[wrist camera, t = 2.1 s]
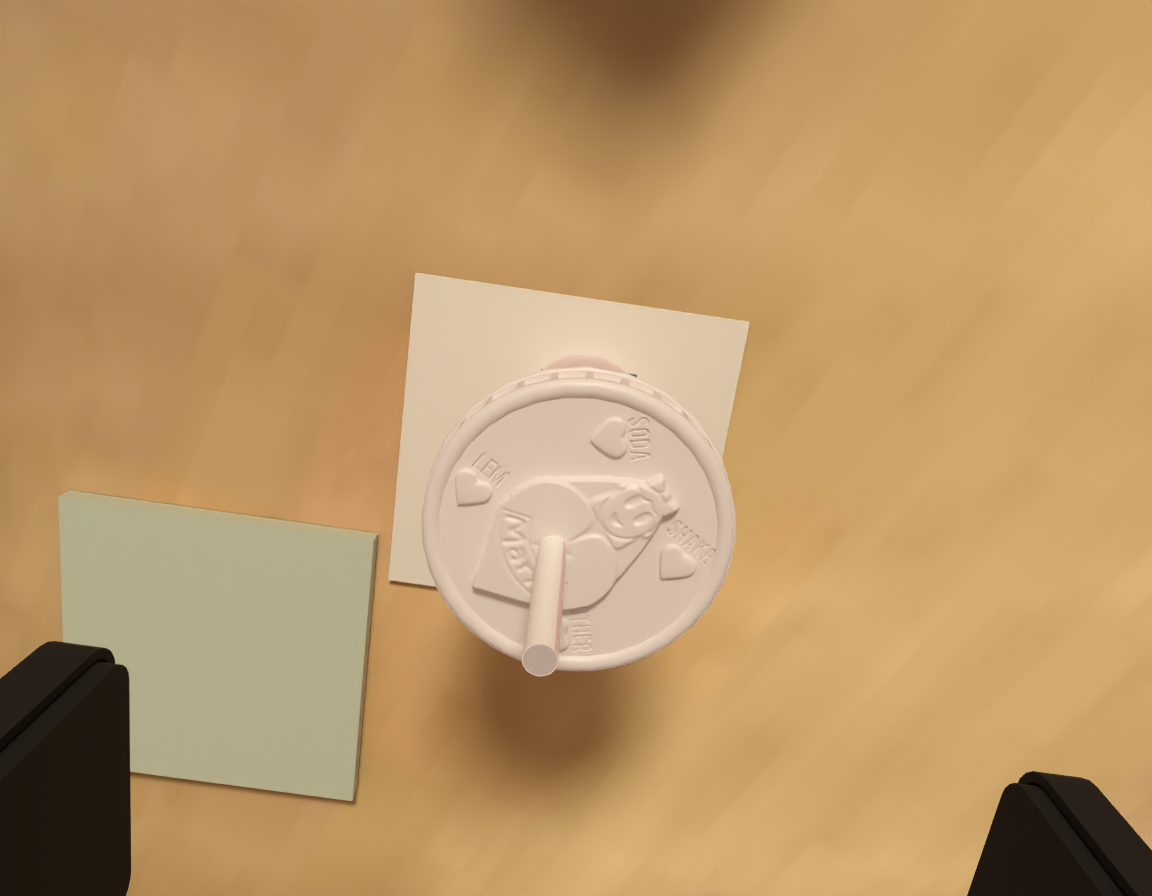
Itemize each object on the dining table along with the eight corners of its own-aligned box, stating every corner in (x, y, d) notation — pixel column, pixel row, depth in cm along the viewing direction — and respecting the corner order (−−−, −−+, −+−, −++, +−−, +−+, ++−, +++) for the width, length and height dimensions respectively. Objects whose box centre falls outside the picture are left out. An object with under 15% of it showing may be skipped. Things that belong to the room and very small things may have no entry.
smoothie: (441, 368, 26) (276, 556, 12) (630, 271, 25) (677, 360, 11) (539, 543, 27) (488, 879, 14) (721, 458, 26) (856, 729, 13)
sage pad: (378, 533, 28) (373, 540, 27) (356, 789, 30) (352, 801, 30) (69, 490, 27) (58, 496, 27) (77, 752, 30) (67, 763, 30)
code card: (748, 321, 25) (750, 322, 25) (688, 618, 28) (689, 621, 28) (416, 272, 25) (415, 273, 25) (389, 577, 28) (388, 580, 28)
